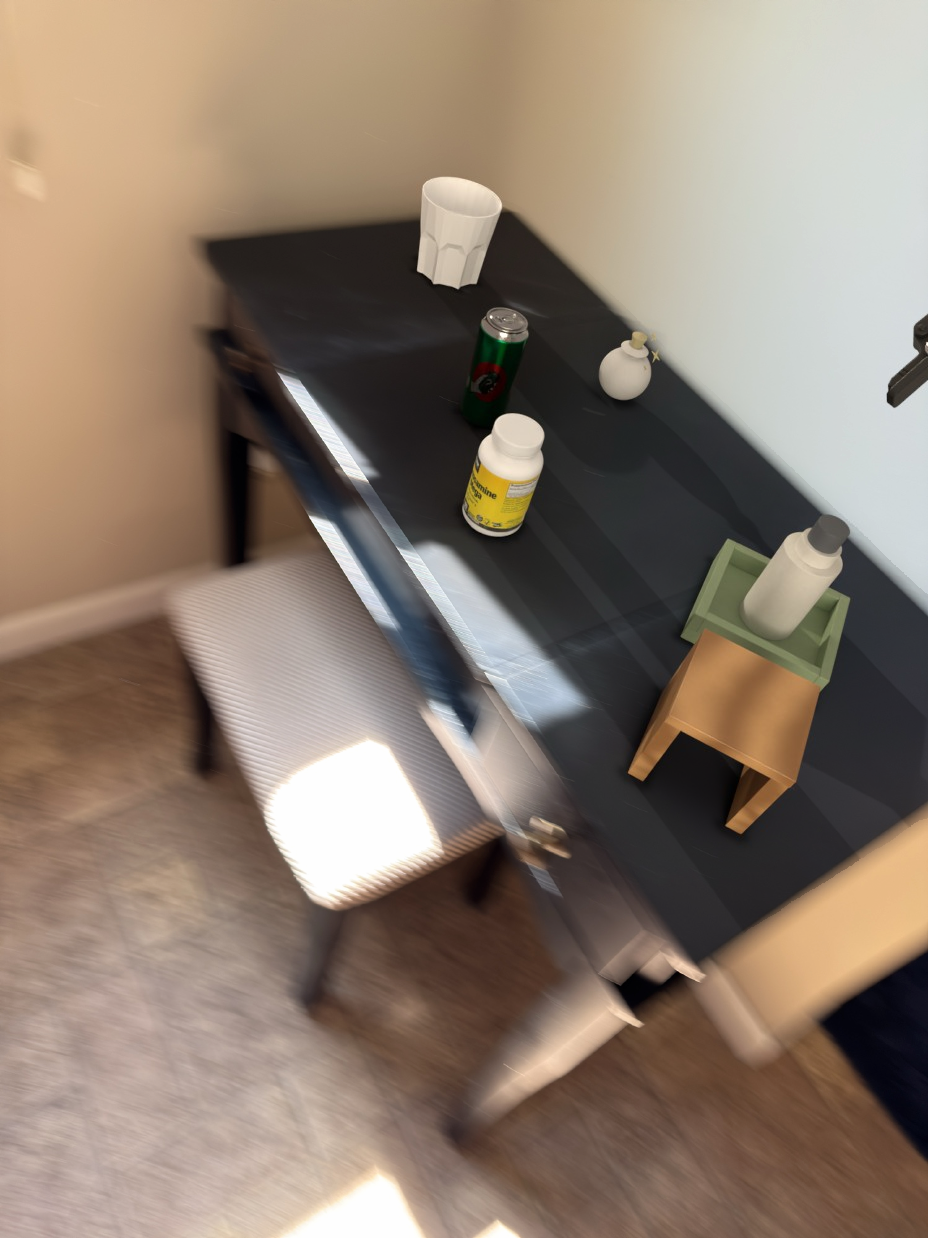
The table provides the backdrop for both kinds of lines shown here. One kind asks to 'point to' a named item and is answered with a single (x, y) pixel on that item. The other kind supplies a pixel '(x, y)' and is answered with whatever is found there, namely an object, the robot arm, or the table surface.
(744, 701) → the wooden stand
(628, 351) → the round potion bottle
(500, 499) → the pill bottle
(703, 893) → the table surface
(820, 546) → the white bottle
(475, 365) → the soda can
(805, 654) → the sage green tray
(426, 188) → the cup
